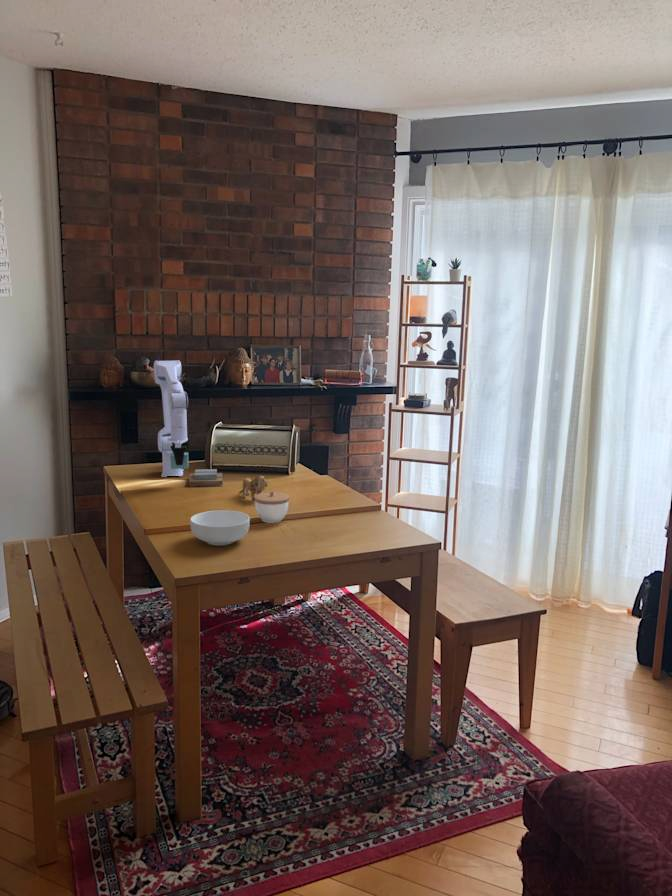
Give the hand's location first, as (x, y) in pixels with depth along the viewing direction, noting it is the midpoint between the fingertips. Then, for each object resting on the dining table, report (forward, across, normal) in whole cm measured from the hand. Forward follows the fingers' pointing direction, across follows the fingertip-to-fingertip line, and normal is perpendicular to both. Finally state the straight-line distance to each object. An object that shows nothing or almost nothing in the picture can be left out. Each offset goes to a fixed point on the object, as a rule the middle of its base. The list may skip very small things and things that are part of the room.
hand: (179, 463), depth 267 cm
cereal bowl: (+9, +61, +15) cm, 64 cm away
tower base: (+9, -6, +9) cm, 14 cm away
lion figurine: (+9, +18, +26) cm, 33 cm away
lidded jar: (+9, +43, +31) cm, 53 cm away
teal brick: (+2, 0, 0) cm, 2 cm away
